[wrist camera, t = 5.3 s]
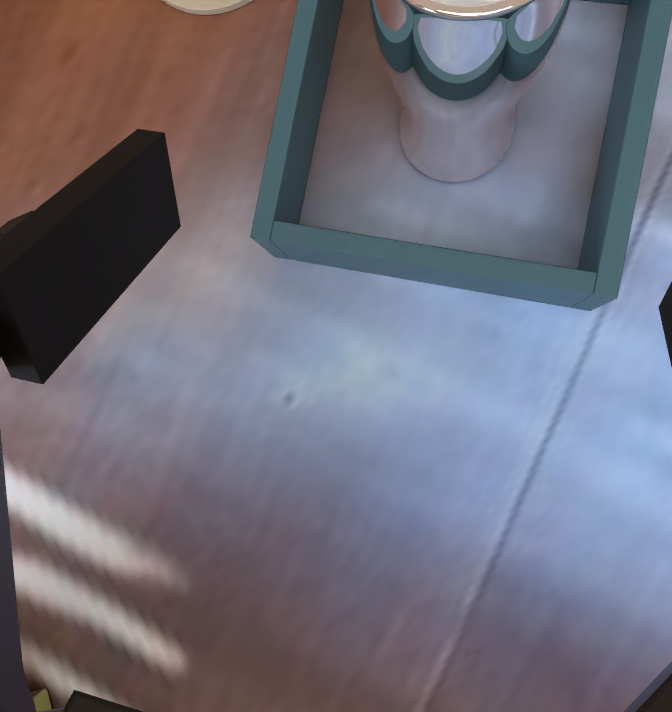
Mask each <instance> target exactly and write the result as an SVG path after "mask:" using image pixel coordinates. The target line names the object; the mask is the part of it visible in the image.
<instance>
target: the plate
mask: <svg viewBox="0 0 672 712" xmlns="http://www.w3.org/2000/svg"><path fill="white" fill-rule="evenodd" d="M162 1H163V2H165V3H166V4H168V5H170V6H172V7H174V8H176V9H178V10H181V11H184V12H187V13H192V14H198V15H212V14H220V13H225V12H229V11H232V10H235V9H237V8H240V7H242V6H244V5H246V4H248V3H250V2H251V1H253V0H162Z"/></svg>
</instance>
